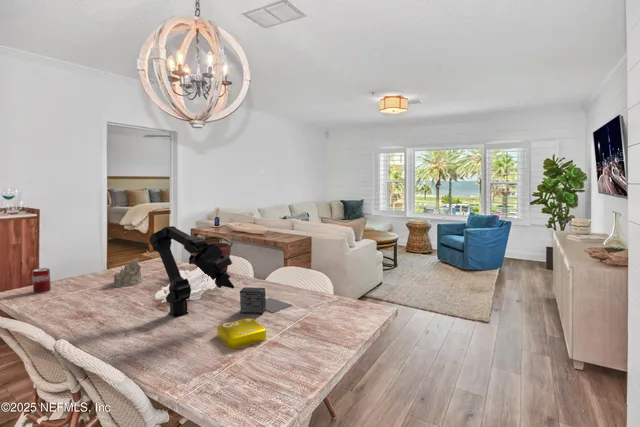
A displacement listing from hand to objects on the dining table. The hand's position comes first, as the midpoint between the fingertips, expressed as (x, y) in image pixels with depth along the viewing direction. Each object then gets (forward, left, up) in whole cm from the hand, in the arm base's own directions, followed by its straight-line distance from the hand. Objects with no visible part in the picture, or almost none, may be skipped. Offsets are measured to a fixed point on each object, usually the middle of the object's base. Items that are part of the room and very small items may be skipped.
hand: (233, 287), depth 154 cm
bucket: (+34, +67, -14) cm, 76 cm away
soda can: (-45, +104, -14) cm, 114 cm away
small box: (+10, -1, -14) cm, 17 cm away
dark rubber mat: (+21, -1, -14) cm, 25 cm away
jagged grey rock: (-8, +88, -14) cm, 90 cm away
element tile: (-10, -18, -14) cm, 25 cm away
